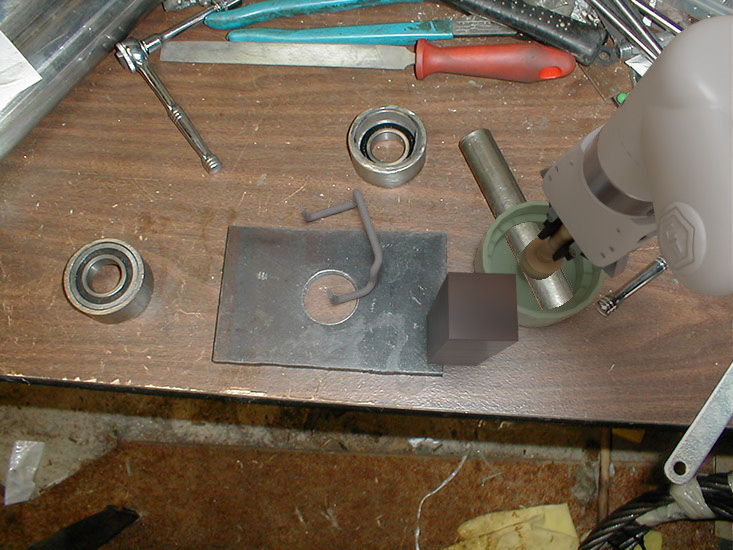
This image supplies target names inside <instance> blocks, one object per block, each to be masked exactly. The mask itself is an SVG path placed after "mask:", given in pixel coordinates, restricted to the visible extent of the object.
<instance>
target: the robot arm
mask: <svg viewBox="0 0 733 550" xmlns="http://www.w3.org/2000/svg"><path fill="white" fill-rule="evenodd" d="M539 174H540V177H541V179H542V182H541V189H542V192H543V194H544V196H545V198H546V199H547V201H548V202H549V207H550V208H549V210H548V211H547V212H546V217H547V219H546V220H545V221H544V223H543V225H544V226H545V227H544V228H543V230H542V231H541V232H540V233H539V234H538V235H537V236H538V238H539V239H541V240H544V239H546V238H548V237H550V236H551V235H552V234H553V233H554V232H555V231H556V230H557V229H558V228H559V227H560V226H561V225H562V224H564V225H565V227H566V228H567V230H568V231H569V233H570V234H571V236H572V237H573V239H574V240H572V241H570V242H568V243H566V244H564V245H563V246H561V247H560V248H559V249H558V250H557V251H556V252H555V253H554V254H553V255H552V259H553V260H554V262H555V261H557V260H559V259H561V258H563V257H565V258H566V260H567V261H570V260H572V259H574V258H575V257H577V256H579V255H581V256H582V257H584V258H586V259H588V260H589V261H590V262H591V263H592V264H594V265H596V266H599V267H600V268H601V269H602V270H603V271H604V272H605V273H606V274H605V275H607V276H608V277H609V278H615V277H617V276H619V275H620V274H622V273H624V272H625V270H626V266H627V264H628V260H629V257H630V254H633V253H634V252H636V251H637V250H640V249H641V248H642V247H644V246H645V245H646V244H648V243H649V242H650V241H652V240H653V239H654V238H655V237H656V240H657V245H658V250H659V252H660V255H661V257H662V259H663V260H664V263H665V264H666V265H667V266H668V268H669V270H670V271H671V273H672V275H673V276H674V278H676V280H677V281H678V282H679V283H680V284H682V286H683V287H685V288H686V289H688V290H690V291H692V292H694V293H696V294H698V295H704V296H707V297H725V296H731V295H733V14H725V15H716V16H711V17H707V18H703V19H700V20H698V21H696V22H694V23H691V24H690V25H688V26H687V27H685V28H684V29H683V30H681V31H679V32H678V33H677V34H676V35H675V36H674V37H673V38H672V39H671V40H670V41H669V42H668V43H667V45H665V47H664V48H663V49H662V50H661V51H660V53H659V54H658V55H657V57H656V58H655V59H654V60H653V61H652V63H651V64H650V66H648V68H647V69H646V71H645V72H644V74H643V75H642V76H641V77H640V79H638V81H637V82H636V84H635V85H634V86H633V87H632V88H631V90H630V91H629V93H628V94H627V95H626V96H625V98H624V99H623V100H622V102H621V103H620V104H619V105H618V106H617V108H616V109H615V111H614V112H613V113H612V114H611V116H610V117H609V118H608V119H607V121H606V122H605V123H603V124H601V125H599V126H598V127H596V128H595V129H594V130H592V131H590V132H589V133H587V134H586V135H585V136H583V137H582V138H581V139H579V140H578V141H576V142H575V143H574V144H573V145H572V146H571V147H570V148H568V149H567V150H566V151H565V152H564V153H563V154H562V155H561V156H560V157H558V158H557V160H556V161H555V162H554V163H552V164H550V165H548V166H546V167H545V168H543V169H541V170H540V171H539Z"/></svg>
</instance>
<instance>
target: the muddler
mask: <svg viewBox="0 0 733 550" xmlns="http://www.w3.org/2000/svg"><path fill="white" fill-rule="evenodd" d="M572 240H574V239H573V237H572V236H571V234H570V233H569V231H568V230H567V228H566V227H565V225H564V224H562V225H561V226H560V227H559V228H558V229H557V230H556V231H555V232H554V233H553V234H552V235H551V236H550V237H549V238H546V239H544V240H541V239H539V238H535V239H534V240H532V241H531V242H530V243H529V244H528V245H527V246H526V247H525V249H524V250H523V251H522V252H521V254H520V257H519V264H520V267H521V269H522V271H523V272H524V273H525V274H526V275H527V276H528V277H530V278H532V279H536V280H542V279H546V278H548V277H549V276H551V275H552V274H553V273H554V272H555V271H557V270H558V269H559V268H560V267H561V265H562V264H563V261H564V257H563V258H561V259H559V260H557V261H555V262H554V260H553V259H552V255H553V254H554V253H555V252H556V251H557V250H558V249H559V248H560V247H561V246H563V245H564V244H566V243H568V242H570V241H572Z"/></svg>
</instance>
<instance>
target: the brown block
mask: <svg viewBox="0 0 733 550" xmlns="http://www.w3.org/2000/svg"><path fill="white" fill-rule="evenodd" d="M518 342H519V324H518V315H517V291H516V274H504V273H474V272H465V271H464V272H460V271H448V272H447V273H446V275H445V277H444V279H443V281H442V284H441V286H440V288H439V290H438V291H437V294H436V296H435V298H434V300H433V302H432V304H431V306H430V308H429V310H428V312H427V314H426V365H427V364H436V365H435V366H460V367H477V366H479V365H480V364H482V363H484V362H485V361H487V360H489V359H491V358H493V357H494V356H496V355H497V354H499V353H501V352H502V351H504V350H506V349H508V348H509V347H511V346H513V345H515V344H516V343H518Z"/></svg>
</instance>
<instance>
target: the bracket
mask: <svg viewBox="0 0 733 550" xmlns="http://www.w3.org/2000/svg"><path fill="white" fill-rule="evenodd" d="M355 207H358V211H359V213H360V216H361V219H362V222H363V224H364V225H363V226H364V227H365V231H366V234H367V237H368V239H369V242H370V245H371V248H372V251H373V255H374V261H373V263H372V265H371V267H370V269H369V272H368V274H369V275H368V276H369V278H368V281H367V284H366V285H365V286H364V287H361V288H360V289H358V290H354V291H351V292H347V293H344V294H341V295H335V294H333V293H332V290H331V289H330V288H329V289H326V294H327V297H328V299H329V302H330V303H331V304H342V303H346V302H349V301H353V300H355V299H359V298H362V297H365V296H367V295H369V294H370V293H371V292H372V291H373V290H374V288H375V286H376V284H377V282H378V273H379V270H380V269H381V267H382V264H383V259H384V256H383V250H382V248H381V245H380V242H379V239H378V236H377V233H376V230H375V228H374V225H373V222H372V219H371V216H370V214H369V210H368V208H367V205H366V202H365V199H364V196H363V194H362V191H361V190H360V189H359V188H354V189H353V190H352V199H351V200H350V201H347V202H343V203H340V204H337V205H334V206H331V207H327V208H324V209H321V210H317V211H315V212H311V213H309V212H308V211H306V208H305V205H304V204H303V203H302V202H301V203H299V208H300V212H301V216H302V218H303V220H305V221H307V222H312V221H316V220H319V219H322V218H325V217H328V216H331V215H334V214H338V213H340V212H344V211H347V210H351V209H353V208H355Z"/></svg>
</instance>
